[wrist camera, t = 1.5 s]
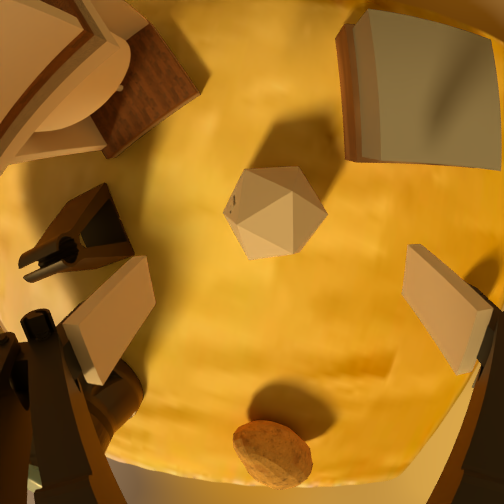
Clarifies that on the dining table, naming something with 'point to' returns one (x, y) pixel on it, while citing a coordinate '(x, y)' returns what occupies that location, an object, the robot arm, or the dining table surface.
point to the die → (273, 211)
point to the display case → (82, 78)
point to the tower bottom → (353, 98)
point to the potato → (273, 454)
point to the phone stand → (93, 233)
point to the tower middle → (426, 92)
